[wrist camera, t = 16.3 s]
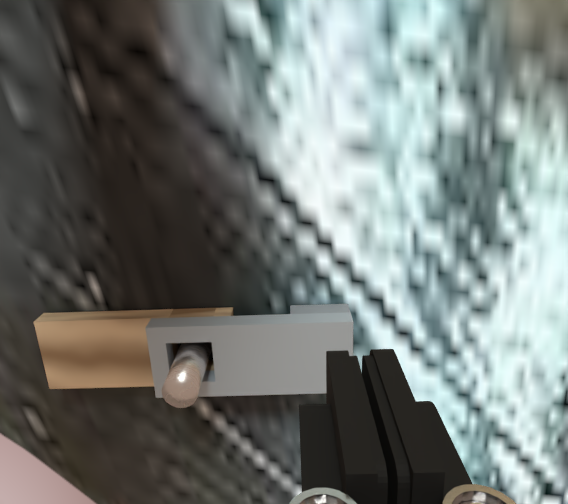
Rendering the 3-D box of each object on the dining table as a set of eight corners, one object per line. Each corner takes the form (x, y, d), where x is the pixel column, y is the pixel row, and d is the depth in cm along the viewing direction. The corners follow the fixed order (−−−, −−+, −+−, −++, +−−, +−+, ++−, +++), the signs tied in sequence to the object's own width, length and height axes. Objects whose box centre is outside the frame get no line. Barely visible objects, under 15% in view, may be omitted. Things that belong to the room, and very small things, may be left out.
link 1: (43, 313, 47) (33, 321, 46) (232, 307, 47) (230, 315, 45) (58, 378, 50) (49, 389, 48) (238, 373, 50) (236, 384, 48)
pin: (182, 328, 48) (159, 377, 39) (212, 327, 48) (195, 376, 39) (185, 354, 49) (164, 408, 40) (214, 353, 49) (199, 407, 40)
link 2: (156, 309, 47) (145, 327, 43) (347, 303, 47) (353, 321, 43) (166, 375, 50) (155, 397, 46) (347, 370, 49) (352, 392, 46)
